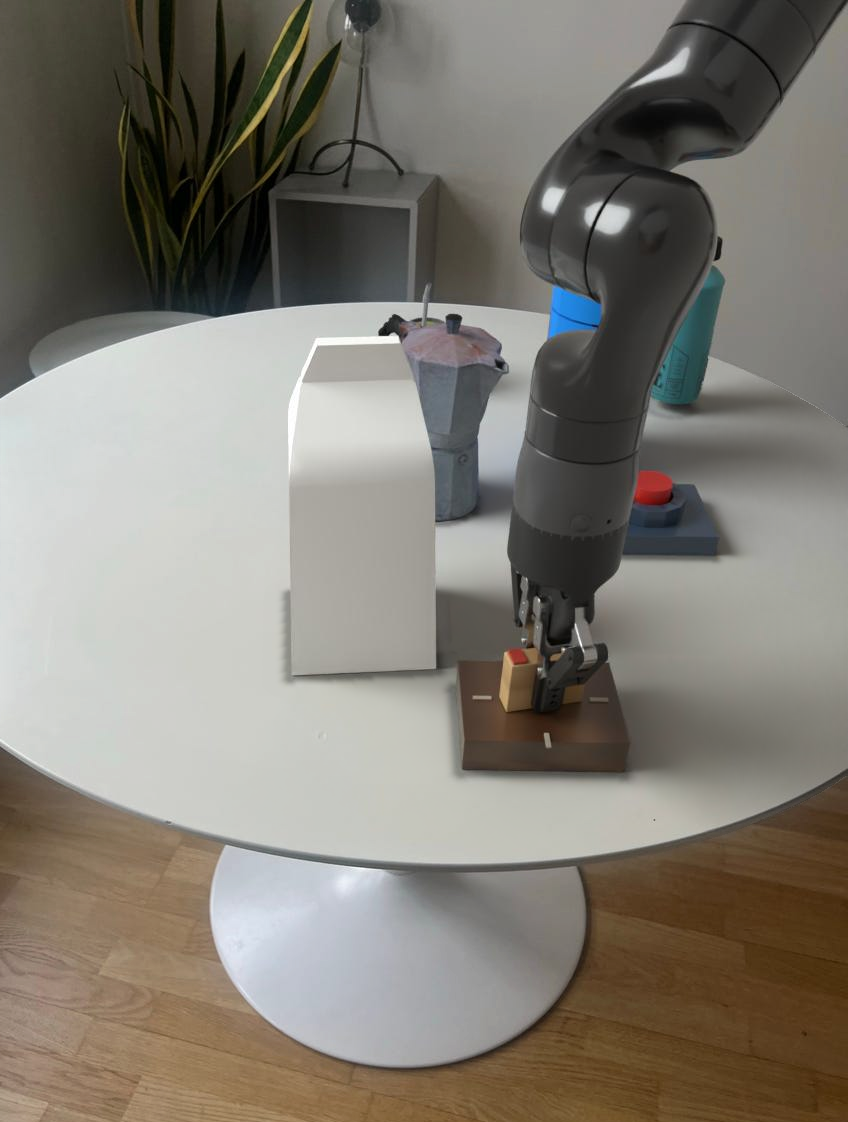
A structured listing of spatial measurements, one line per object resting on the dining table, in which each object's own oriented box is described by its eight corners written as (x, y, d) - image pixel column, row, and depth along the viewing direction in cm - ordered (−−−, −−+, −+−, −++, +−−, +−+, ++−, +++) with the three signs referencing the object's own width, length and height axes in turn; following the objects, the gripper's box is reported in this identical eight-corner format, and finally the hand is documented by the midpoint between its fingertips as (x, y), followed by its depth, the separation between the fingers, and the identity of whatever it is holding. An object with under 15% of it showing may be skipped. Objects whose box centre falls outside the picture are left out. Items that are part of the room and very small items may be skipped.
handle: (573, 686, 74) (582, 638, 71) (582, 701, 73) (591, 653, 70) (498, 696, 73) (504, 648, 70) (506, 712, 72) (512, 664, 69)
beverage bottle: (709, 408, 118) (750, 238, 105) (669, 421, 115) (707, 249, 102) (669, 388, 122) (705, 223, 109) (631, 401, 119) (662, 233, 107)
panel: (602, 685, 79) (608, 655, 77) (625, 778, 71) (633, 748, 69) (455, 683, 79) (457, 653, 77) (462, 775, 71) (465, 745, 69)
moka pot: (469, 544, 95) (485, 347, 82) (346, 494, 102) (343, 307, 89) (518, 503, 101) (540, 314, 88) (399, 459, 108) (403, 278, 95)
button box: (689, 502, 101) (698, 468, 98) (714, 556, 93) (724, 521, 91) (575, 500, 101) (580, 467, 99) (590, 554, 93) (596, 519, 91)
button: (664, 486, 96) (668, 470, 95) (673, 507, 93) (677, 491, 92) (624, 485, 96) (627, 470, 95) (632, 506, 93) (635, 491, 92)
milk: (291, 675, 80) (272, 377, 63) (290, 592, 88) (273, 312, 72) (436, 668, 80) (453, 372, 64) (420, 587, 89) (432, 308, 73)
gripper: (674, 553, 57) (623, 755, 68) (586, 443, 68) (555, 634, 79) (554, 568, 56) (522, 771, 67) (484, 454, 66) (466, 646, 77)
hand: (540, 696), depth 73 cm, fingers closed on handle, 2 cm apart
